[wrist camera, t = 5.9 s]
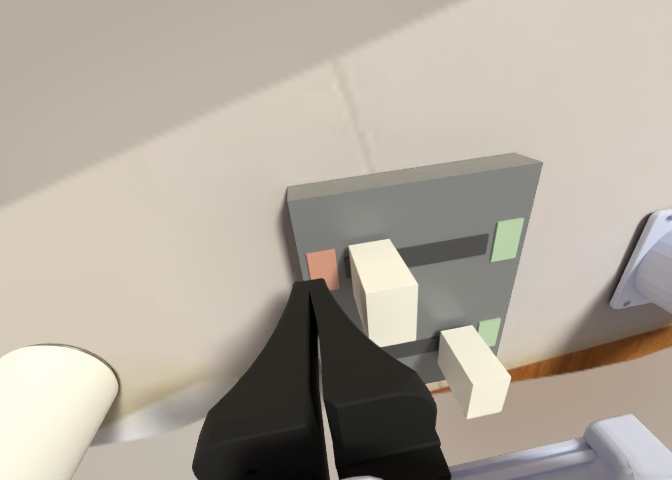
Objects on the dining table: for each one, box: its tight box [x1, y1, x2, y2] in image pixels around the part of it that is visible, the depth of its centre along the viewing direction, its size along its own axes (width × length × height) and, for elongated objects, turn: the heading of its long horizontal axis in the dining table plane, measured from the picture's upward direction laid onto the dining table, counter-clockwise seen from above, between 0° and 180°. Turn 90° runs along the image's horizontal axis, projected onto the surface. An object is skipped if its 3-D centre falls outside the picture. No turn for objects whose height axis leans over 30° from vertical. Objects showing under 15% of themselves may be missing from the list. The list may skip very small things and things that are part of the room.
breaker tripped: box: [349, 239, 418, 347], centre depth 13 cm, size 2×3×4 cm, turn 7°
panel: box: [287, 153, 543, 384], centre depth 18 cm, size 12×15×2 cm
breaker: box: [438, 325, 511, 419], centre depth 17 cm, size 2×3×4 cm, turn 6°
